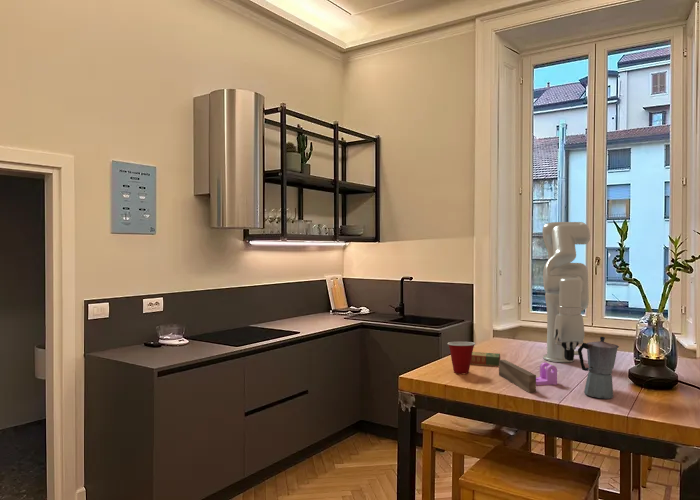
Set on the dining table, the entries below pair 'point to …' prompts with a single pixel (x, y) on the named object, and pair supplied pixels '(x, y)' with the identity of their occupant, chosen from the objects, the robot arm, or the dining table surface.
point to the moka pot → (599, 368)
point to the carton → (485, 358)
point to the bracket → (547, 375)
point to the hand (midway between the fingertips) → (569, 359)
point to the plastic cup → (461, 356)
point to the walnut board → (517, 376)
